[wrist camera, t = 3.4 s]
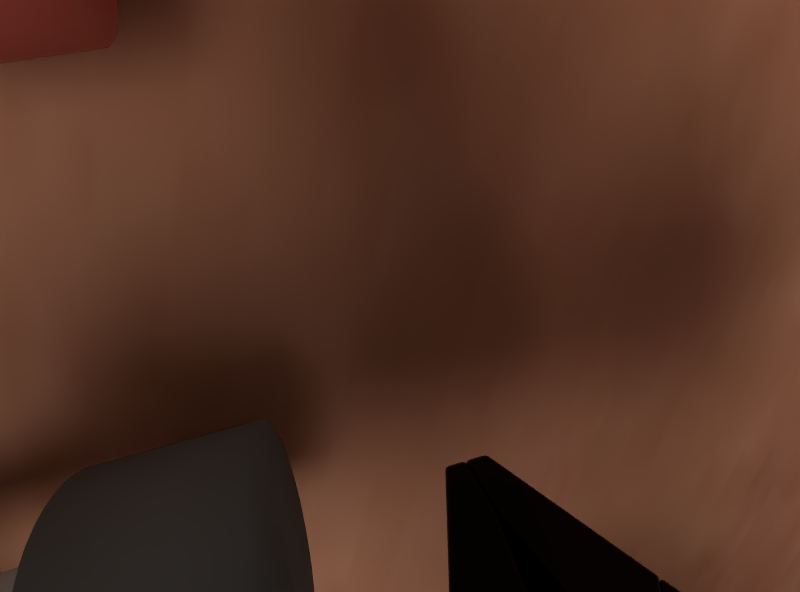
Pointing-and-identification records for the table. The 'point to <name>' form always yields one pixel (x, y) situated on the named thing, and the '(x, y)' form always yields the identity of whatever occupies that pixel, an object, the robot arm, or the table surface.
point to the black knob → (175, 522)
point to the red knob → (55, 27)
